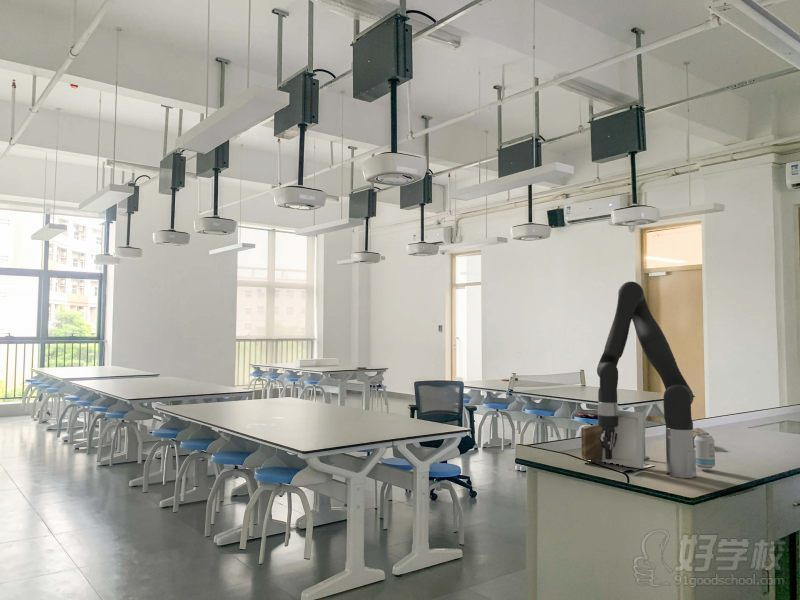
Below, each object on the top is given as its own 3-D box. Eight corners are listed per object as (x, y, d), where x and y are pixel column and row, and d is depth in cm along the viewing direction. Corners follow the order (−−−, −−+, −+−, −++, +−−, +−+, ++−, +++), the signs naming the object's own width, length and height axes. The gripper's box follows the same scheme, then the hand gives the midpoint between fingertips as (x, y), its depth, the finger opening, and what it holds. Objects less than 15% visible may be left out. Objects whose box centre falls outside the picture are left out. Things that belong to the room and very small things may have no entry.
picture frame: (601, 462, 237) (605, 408, 241) (605, 462, 239) (608, 409, 243) (640, 468, 226) (643, 412, 229) (644, 468, 228) (647, 413, 231)
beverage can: (697, 464, 236) (696, 433, 237) (716, 466, 231) (716, 435, 232) (692, 467, 231) (692, 435, 231) (712, 469, 226) (711, 437, 227)
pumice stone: (683, 443, 285) (683, 425, 286) (711, 445, 280) (711, 427, 281) (683, 447, 273) (682, 429, 273) (712, 449, 268) (712, 431, 268)
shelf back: (614, 454, 255) (614, 421, 256) (585, 464, 234) (584, 428, 235) (611, 454, 256) (610, 420, 257) (581, 464, 235) (581, 427, 236)
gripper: (610, 416, 226) (611, 463, 225) (624, 413, 236) (625, 458, 235) (591, 414, 231) (592, 460, 230) (605, 411, 241) (606, 455, 240)
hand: (608, 459), depth 233 cm, fingers closed
